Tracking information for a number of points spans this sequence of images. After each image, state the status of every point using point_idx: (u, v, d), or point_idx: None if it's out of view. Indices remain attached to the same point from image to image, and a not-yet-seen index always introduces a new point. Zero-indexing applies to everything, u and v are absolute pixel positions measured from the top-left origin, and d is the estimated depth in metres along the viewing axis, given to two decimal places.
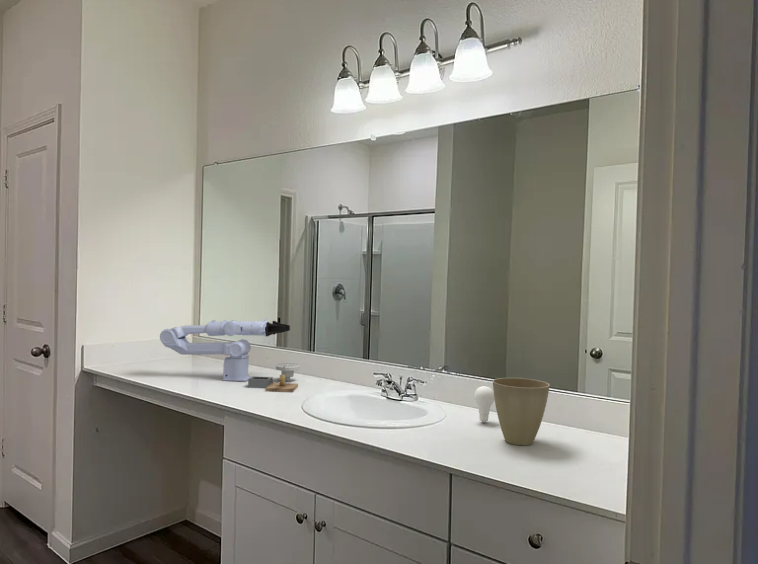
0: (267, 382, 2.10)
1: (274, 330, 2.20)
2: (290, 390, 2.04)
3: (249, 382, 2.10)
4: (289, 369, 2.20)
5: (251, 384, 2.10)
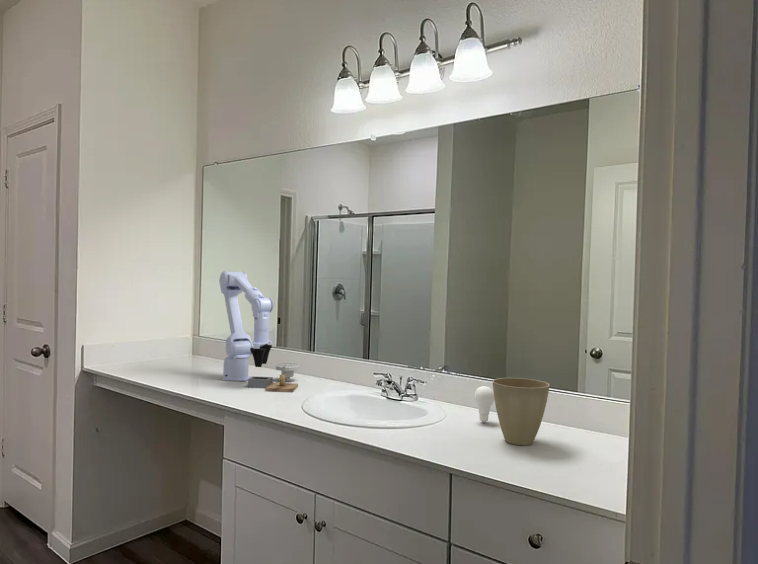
0: (267, 382, 2.10)
1: (256, 356, 2.08)
2: (290, 390, 2.04)
3: (249, 382, 2.10)
4: (289, 369, 2.20)
5: (251, 384, 2.10)
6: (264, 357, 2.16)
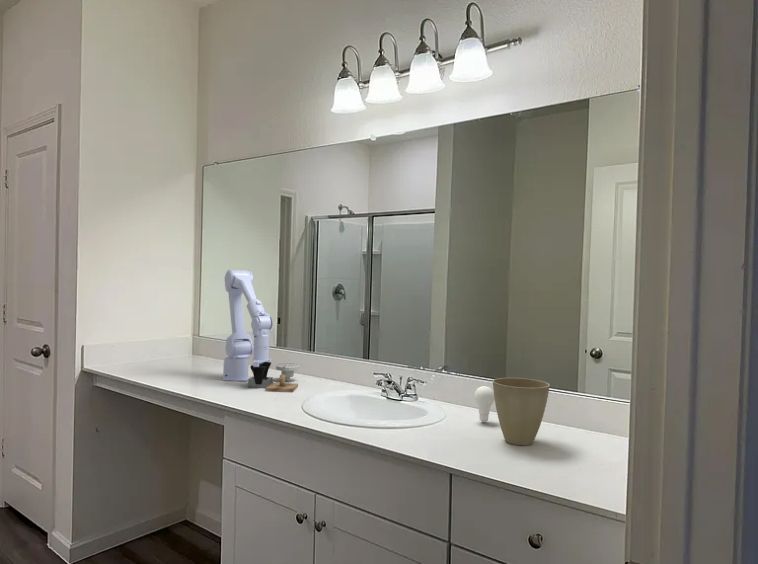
0: (267, 382, 2.10)
1: (257, 373, 2.09)
2: (290, 390, 2.04)
3: (249, 382, 2.10)
4: (289, 369, 2.20)
5: (251, 384, 2.10)
6: (263, 375, 2.16)
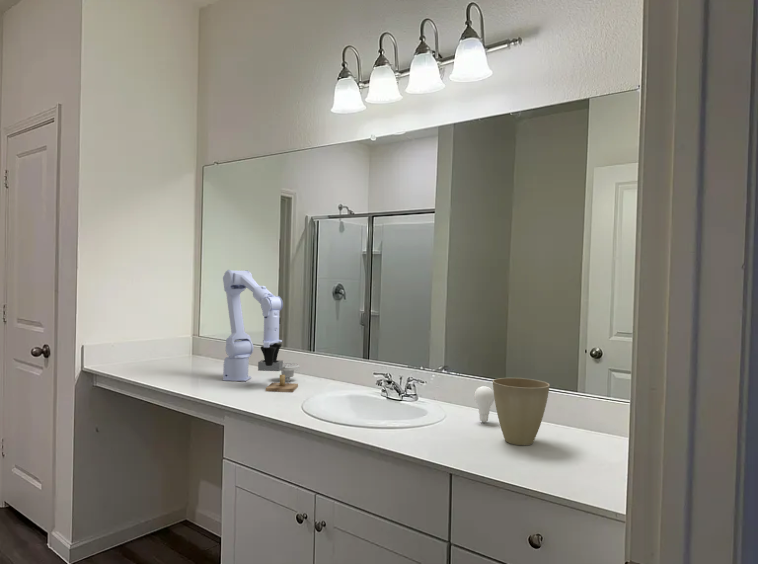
0: (277, 365, 2.08)
1: (267, 354, 2.07)
2: (290, 390, 2.04)
3: (259, 365, 2.08)
4: (289, 369, 2.20)
5: (261, 367, 2.08)
6: (273, 356, 2.14)
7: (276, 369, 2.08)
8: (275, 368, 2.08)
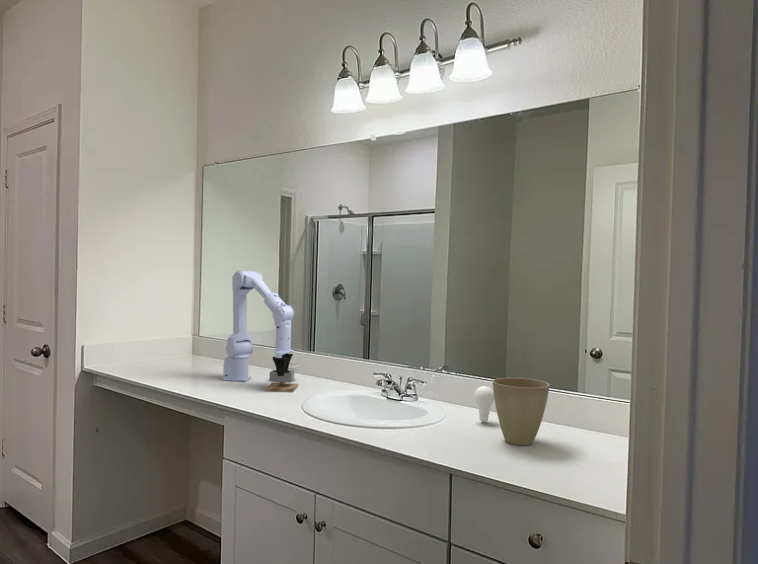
0: (289, 376, 2.06)
1: (279, 365, 2.06)
2: (290, 390, 2.04)
3: (270, 375, 2.07)
4: (289, 369, 2.20)
5: (272, 377, 2.07)
6: (285, 366, 2.12)
7: (288, 380, 2.06)
8: (287, 379, 2.06)
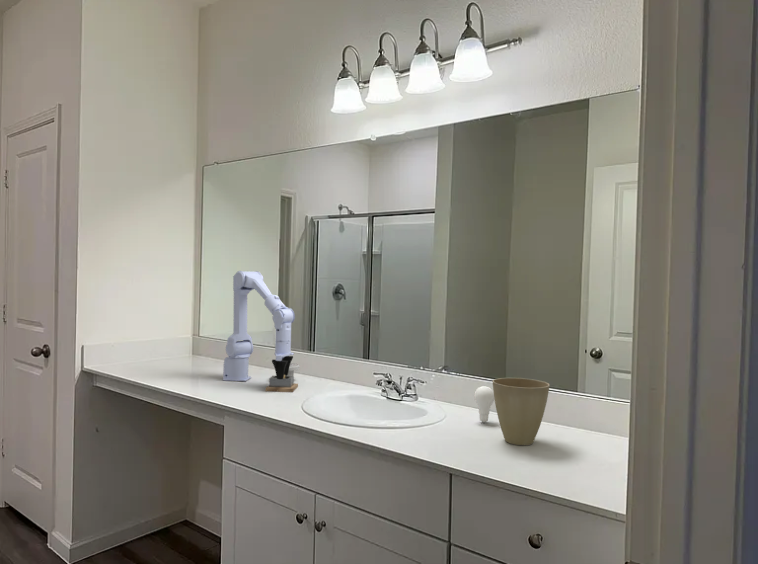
0: (289, 381, 2.06)
1: (278, 368, 2.05)
2: (290, 390, 2.04)
3: (270, 381, 2.07)
4: (289, 369, 2.20)
5: (272, 383, 2.07)
6: (285, 369, 2.13)
7: (287, 385, 2.06)
8: (286, 384, 2.06)
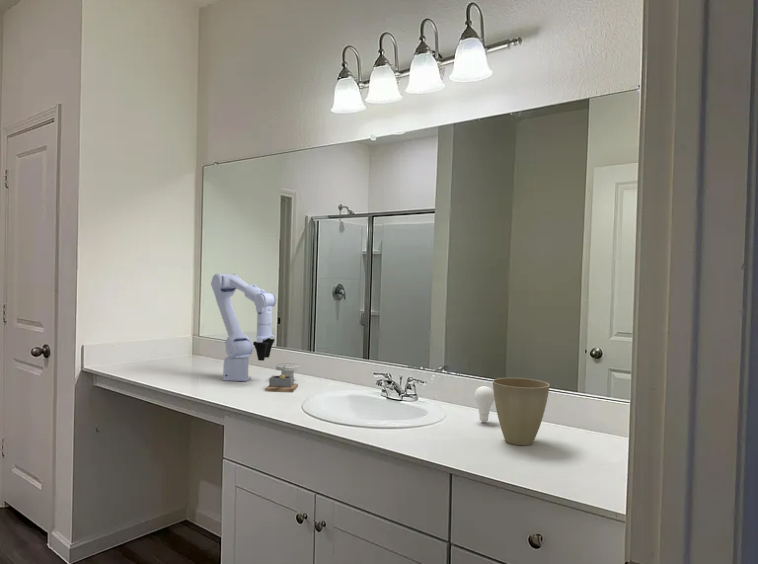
0: (289, 381, 2.06)
1: (259, 349, 2.12)
2: (290, 390, 2.04)
3: (270, 381, 2.07)
4: (289, 369, 2.20)
5: (272, 383, 2.07)
6: (267, 351, 2.20)
7: (287, 385, 2.06)
8: (286, 384, 2.06)
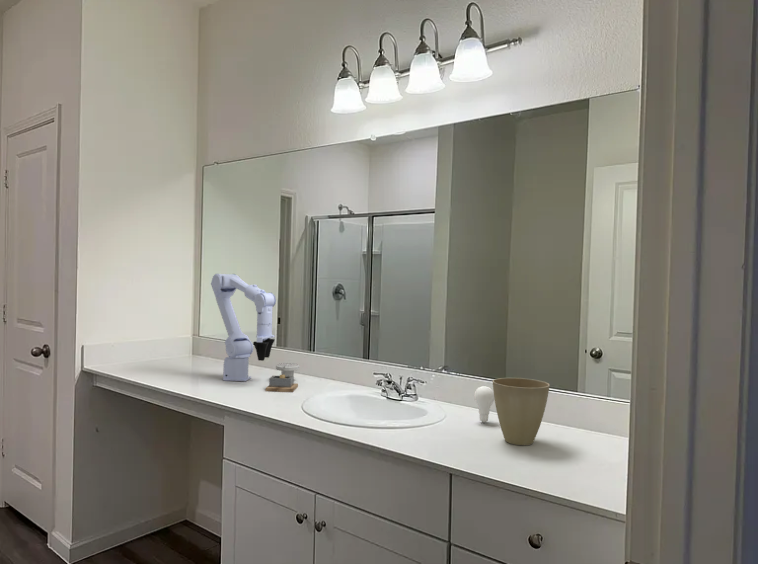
0: (289, 381, 2.06)
1: (259, 349, 2.12)
2: (290, 390, 2.04)
3: (270, 381, 2.07)
4: (289, 369, 2.20)
5: (272, 383, 2.07)
6: (267, 351, 2.20)
7: (287, 385, 2.06)
8: (286, 384, 2.06)
